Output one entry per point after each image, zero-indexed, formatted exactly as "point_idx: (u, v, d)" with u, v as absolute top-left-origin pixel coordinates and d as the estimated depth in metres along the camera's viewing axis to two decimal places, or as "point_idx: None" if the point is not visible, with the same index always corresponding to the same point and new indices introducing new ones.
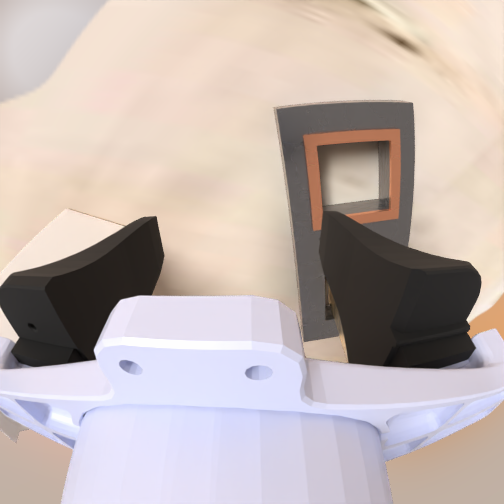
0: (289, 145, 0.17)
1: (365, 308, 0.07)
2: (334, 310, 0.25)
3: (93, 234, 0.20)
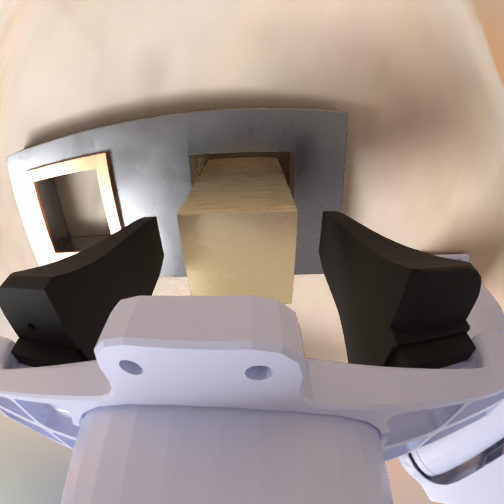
0: None
1: (365, 308, 0.07)
2: None
3: None
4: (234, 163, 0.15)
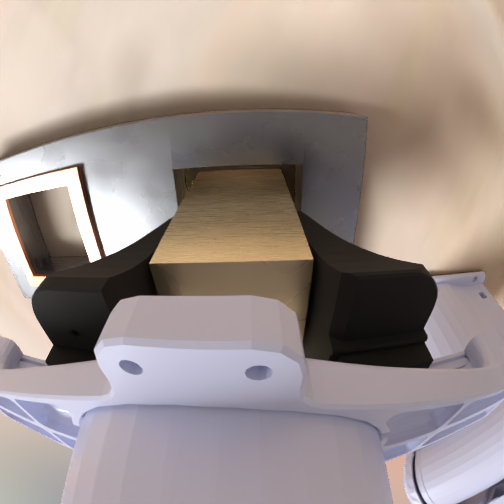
0: None
1: (313, 312, 0.07)
2: None
3: None
4: (229, 178, 0.12)
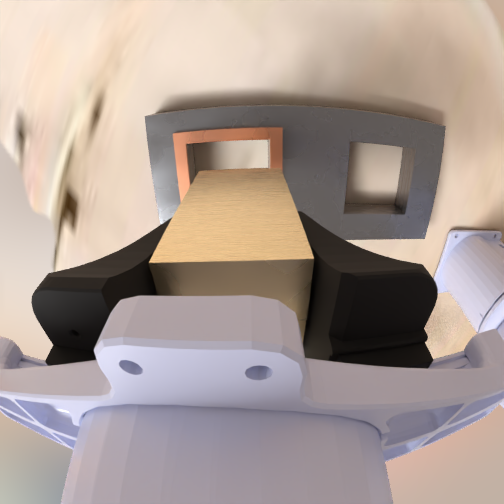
0: None
1: (313, 312, 0.07)
2: None
3: None
4: (229, 177, 0.12)
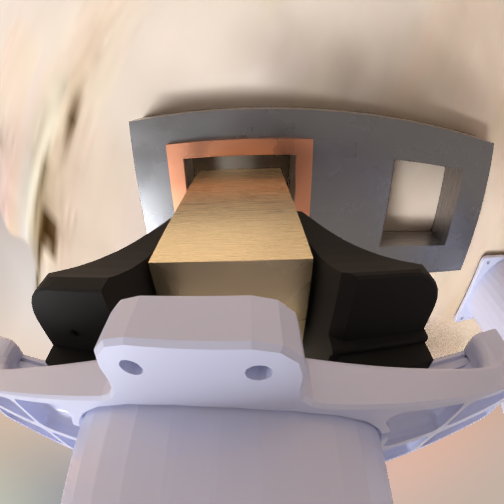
0: None
1: (313, 312, 0.07)
2: None
3: None
4: (228, 177, 0.12)
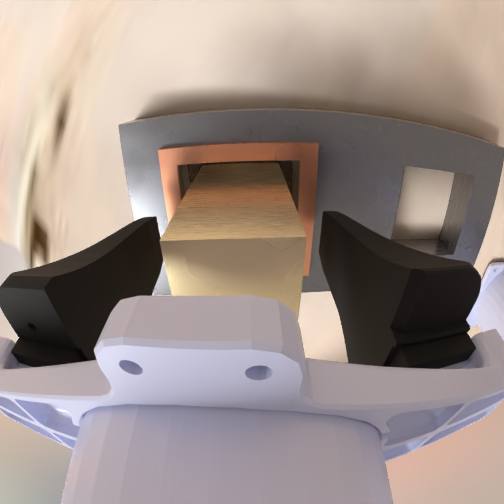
0: None
1: (365, 308, 0.07)
2: None
3: None
4: (230, 170, 0.13)
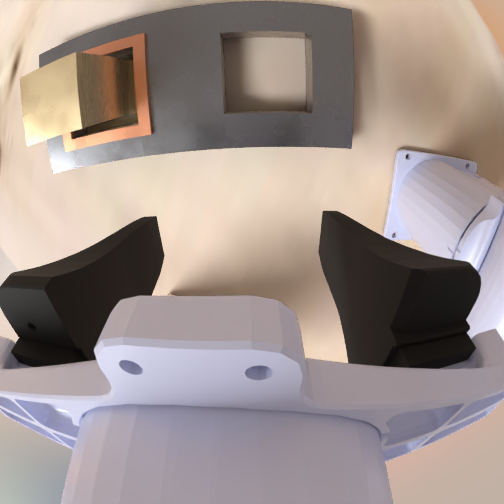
0: (76, 161, 0.17)
1: (365, 308, 0.07)
2: None
3: None
4: None
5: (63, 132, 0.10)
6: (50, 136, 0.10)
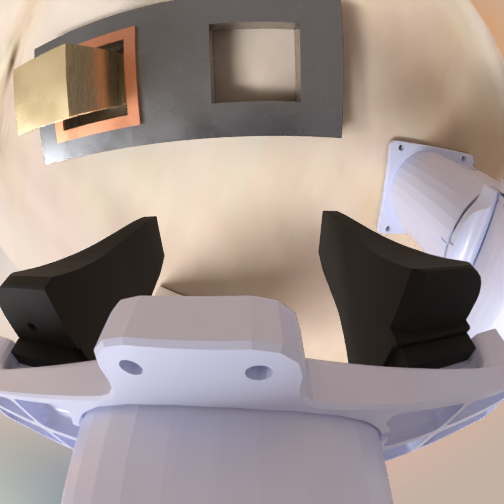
0: (67, 152, 0.17)
1: (365, 308, 0.07)
2: (101, 109, 0.15)
3: None
4: None
5: (51, 120, 0.10)
6: (39, 125, 0.10)
